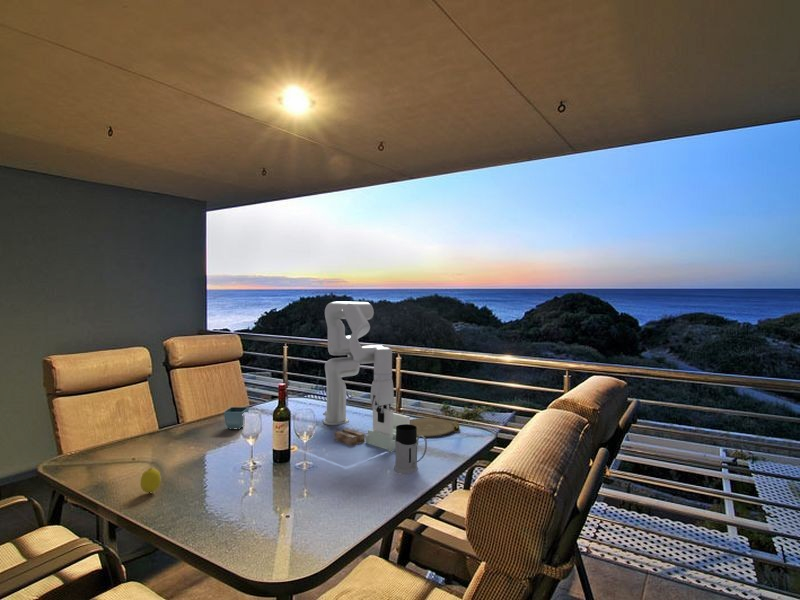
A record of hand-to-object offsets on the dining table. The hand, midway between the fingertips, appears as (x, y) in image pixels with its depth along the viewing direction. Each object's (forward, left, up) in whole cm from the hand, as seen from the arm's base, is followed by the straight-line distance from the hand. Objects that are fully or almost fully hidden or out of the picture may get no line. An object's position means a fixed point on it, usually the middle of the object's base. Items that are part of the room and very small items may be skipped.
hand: (382, 421), depth 179 cm
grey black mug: (+25, -12, -11) cm, 30 cm away
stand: (-14, -6, -11) cm, 18 cm away
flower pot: (-68, -28, -11) cm, 74 cm away
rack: (0, +5, -11) cm, 12 cm away
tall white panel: (0, 0, -7) cm, 7 cm away
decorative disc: (-1, +32, -11) cm, 34 cm away
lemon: (-25, -80, -11) cm, 84 cm away
